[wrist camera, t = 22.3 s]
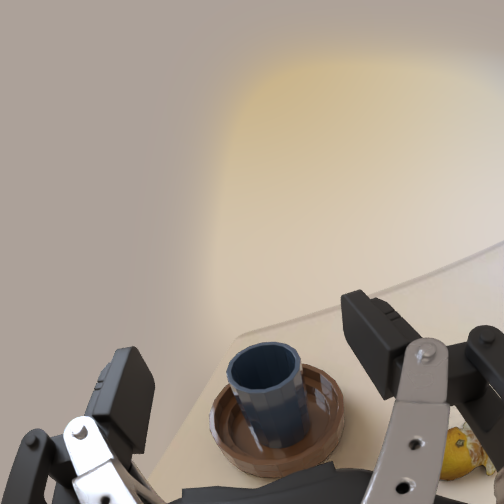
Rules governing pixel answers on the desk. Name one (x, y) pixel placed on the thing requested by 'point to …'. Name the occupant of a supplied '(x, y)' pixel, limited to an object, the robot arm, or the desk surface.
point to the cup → (271, 393)
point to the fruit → (463, 454)
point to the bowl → (290, 458)
